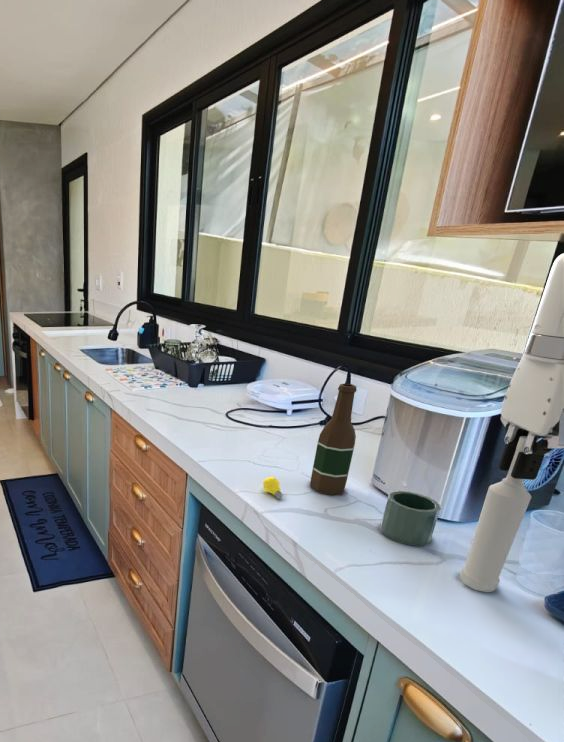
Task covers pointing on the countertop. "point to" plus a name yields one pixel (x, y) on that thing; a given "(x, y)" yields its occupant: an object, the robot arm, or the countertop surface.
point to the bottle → (496, 530)
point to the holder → (410, 518)
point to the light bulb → (272, 486)
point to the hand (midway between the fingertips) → (516, 473)
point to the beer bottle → (335, 446)
